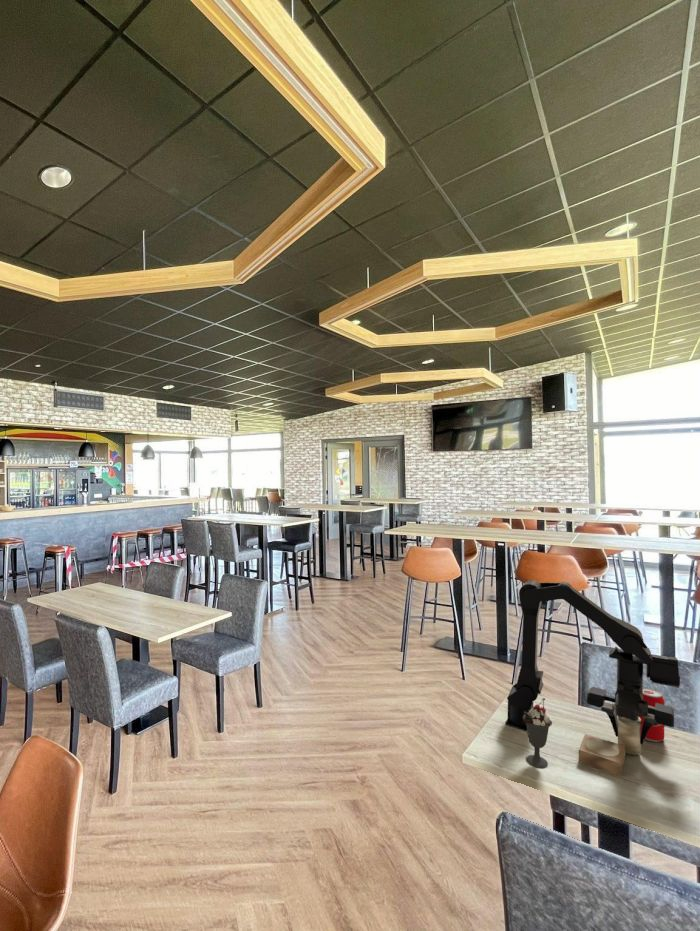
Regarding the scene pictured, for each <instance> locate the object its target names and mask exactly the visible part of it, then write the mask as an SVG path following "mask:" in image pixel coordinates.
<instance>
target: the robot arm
mask: <svg viewBox="0 0 700 931" xmlns="http://www.w3.org/2000/svg"><path fill="white" fill-rule="evenodd" d="M518 597H519V603H520V608H521V611H522V615H523V616H522V637H521V638H522V640H521V641H522V643H521V666H520V670H519V672H518V676H517V677H518V678H517V680H516V683H515V684H513V685H512V686H511V689H510V691H509V693H508V695H507V697H506V699H507V719H506V720H505V725H507V726H511V727H513V728H516V729H520V730H521V731H522V730H523V731H525V732H527V725H526V723H525V722H524V720H523V715H524V712H527V713H528V712H529V710H530V709H531V708H532V707H534V702H535V701H537V699H538V696H539V695H541V693H542V691H543V687H544V682H543V675H544V671H543V670H539V669H538V668H539V666H538V663H537V661H538V636H539V635H538V634H539V633H538V632H539V614H540V610H541V607H542V602H543V603H544V602H549V601H550V602H551V601H556V600H563V601H565V602H566V603H568V605H570V606H571V607H573V608H574V610H577V611H578V612H579V613H581V614H582V615H583V616H585V617H586V618H587V619H589V620H590V621H591V622H593V623H594V624H596V625H597V626H598V627H599V628H601V630H603V631H604V632H605V633H606V635H607V636H608V637H609V638H610V639H611V640H612V642H613V643H615V645H617V646H615V647H613V648H612V649H611V650H609V652H608V657H609V658H610V659H615V660H616V691H615V692H614V696H611V695H608V693H607V689H603V688H599V687H595V686H591V687H590V688H589V690H588V692H587V696H586V704H588V705H590V706H593V707H597V708H600V711H602V712H604V713H606V714H607V716H608V718H609V721H610V723H611V726H612V729H613V732H614V735H615V737H617V738H618V716H619V717H625V718H628V719H631V720H633V721H637V720H638V719H639V716H641V717H643V716H644V721H643V727H642V732H641V738H640V744H641V745H643V743H644V741H645V740H646V739H645V737H646V734H647V732H648V730H649V729H650V727H651V726H652V725H654V726H657V725H658V724H662V725H664V727H670V728H674V727H675V709H674V708H673V707H672V706H669V705H666V704H665V705H662V704H658V703H656V704H655V707H651V706H648V701H645V700H643V688H644V665H645V677H646V678H649V681H650V682H651V683H653V684H657V685H663V686H666V687H667V686H668V687H673V688H678V689H679V688H681V687H680V685H681V675H680V671H679V660H678V658H677V657H674V656H663V655H658V654H652V653H651V652H652V651H651V649H650V648H649V647H648V646H647V645H646V643H645V641H644V639H643V638H644V637H643V633H642V632H641V630H640V629H639V628H638V627H637V626H635V625H632V624H630V623H628V622H627V621H624V620H623V619H620V618H617V617H615V616H613V615H612V614H610V613H609V612H607V610H604V609H603V608H602V607H600V606H599V605H598V604H597V603H595V602H594V601H592V600H590V598H588V597H587V596H585V594H583V593H581V592H580V591H579V590H577V589H576V588H575V587H573V586H572V585H571V583H569V582H567V581H561V582H548V581H547V582H546V581H545V582H538V581H537V580H532V579H530V580H528V581H526V582H524V584H523V585H522V586H521V587H520V589H519V591H518ZM620 649H621V650H620Z"/></svg>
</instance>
